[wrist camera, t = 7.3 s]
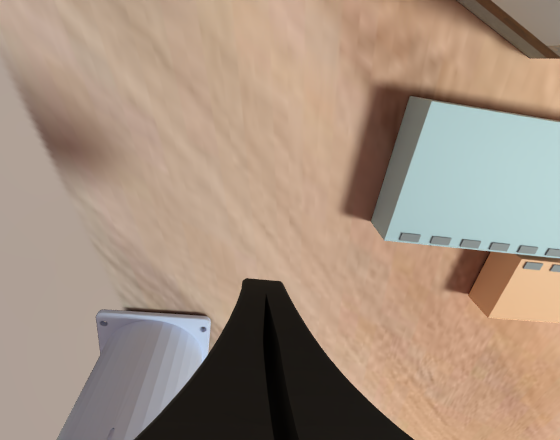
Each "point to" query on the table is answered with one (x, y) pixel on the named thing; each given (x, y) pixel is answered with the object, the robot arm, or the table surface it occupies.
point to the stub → (519, 287)
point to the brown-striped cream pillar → (523, 23)
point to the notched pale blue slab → (473, 180)
